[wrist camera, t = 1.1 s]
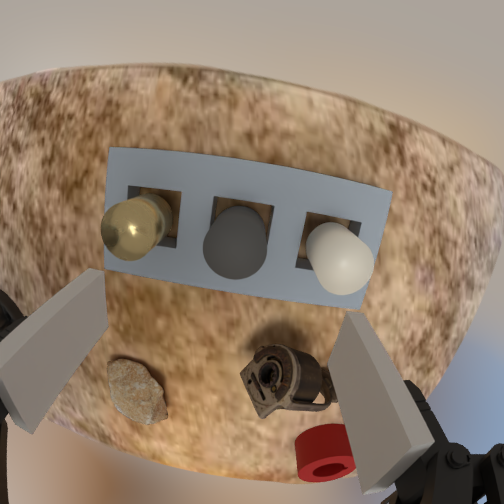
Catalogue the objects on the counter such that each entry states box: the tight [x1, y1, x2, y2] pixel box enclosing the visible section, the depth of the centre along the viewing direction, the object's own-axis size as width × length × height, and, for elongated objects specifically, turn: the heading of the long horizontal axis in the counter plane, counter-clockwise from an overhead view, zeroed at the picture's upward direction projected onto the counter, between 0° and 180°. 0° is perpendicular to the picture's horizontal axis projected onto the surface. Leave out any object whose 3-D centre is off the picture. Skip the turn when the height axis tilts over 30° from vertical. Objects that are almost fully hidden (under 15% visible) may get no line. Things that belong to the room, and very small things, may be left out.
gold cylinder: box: [101, 193, 173, 261], centre depth 22 cm, size 4×4×5 cm
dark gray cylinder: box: [203, 206, 267, 280], centre depth 22 cm, size 4×4×5 cm
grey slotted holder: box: [104, 147, 393, 310], centre depth 26 cm, size 26×12×3 cm, turn 81°
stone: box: [107, 359, 168, 425], centre depth 33 cm, size 8×10×4 cm
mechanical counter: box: [240, 344, 338, 419], centre depth 28 cm, size 7×13×10 cm, turn 68°
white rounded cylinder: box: [306, 222, 374, 295], centre depth 22 cm, size 4×4×5 cm
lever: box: [295, 424, 356, 482], centre depth 36 cm, size 18×9×7 cm, turn 87°
